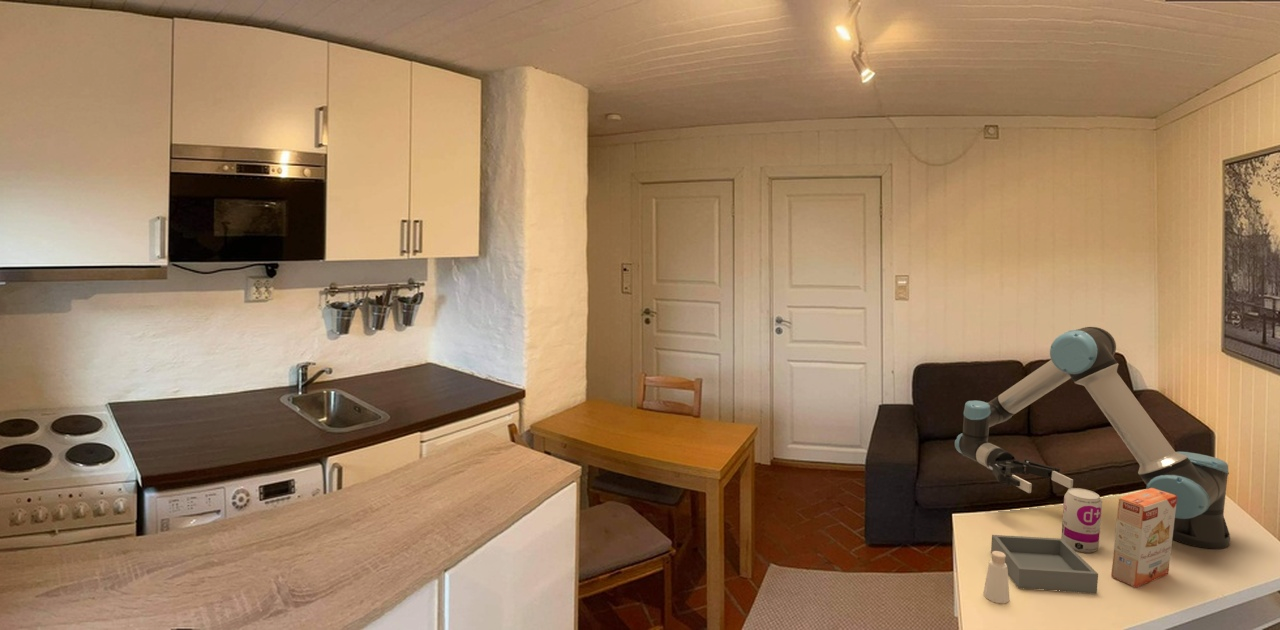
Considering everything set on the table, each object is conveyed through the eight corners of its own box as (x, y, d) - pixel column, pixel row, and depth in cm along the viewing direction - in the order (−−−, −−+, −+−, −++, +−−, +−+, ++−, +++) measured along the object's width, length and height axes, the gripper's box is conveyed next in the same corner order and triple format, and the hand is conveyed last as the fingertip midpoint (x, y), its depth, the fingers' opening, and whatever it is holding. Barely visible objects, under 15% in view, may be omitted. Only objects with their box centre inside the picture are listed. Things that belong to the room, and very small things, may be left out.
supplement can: (1104, 555, 163) (1109, 500, 161) (1069, 552, 164) (1073, 498, 162) (1088, 539, 170) (1092, 488, 168) (1055, 537, 172) (1059, 486, 170)
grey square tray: (1060, 556, 162) (1062, 538, 162) (1096, 593, 146) (1098, 574, 145) (990, 552, 165) (991, 534, 164) (1018, 588, 149) (1019, 568, 148)
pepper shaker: (985, 588, 149) (987, 545, 148) (1011, 595, 146) (1014, 552, 144) (981, 598, 145) (983, 554, 143) (1007, 606, 141) (1010, 561, 140)
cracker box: (1137, 589, 147) (1145, 506, 144) (1109, 577, 152) (1116, 496, 150) (1171, 575, 152) (1178, 494, 150) (1143, 563, 158) (1150, 485, 155)
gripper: (1029, 466, 199) (1087, 494, 178) (960, 473, 194) (1011, 502, 174) (1031, 444, 198) (1089, 470, 177) (961, 450, 193) (1013, 477, 173)
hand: (1051, 486), depth 175 cm, fingers open, 13 cm apart
